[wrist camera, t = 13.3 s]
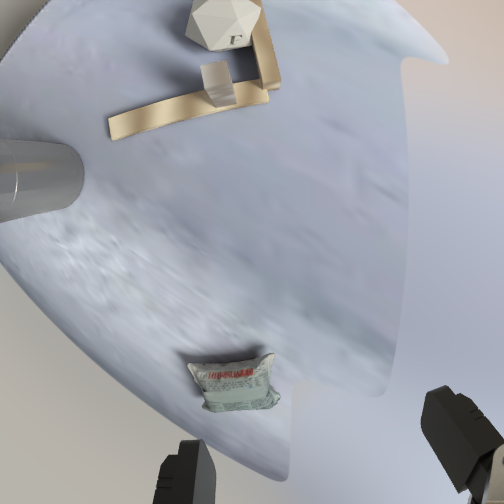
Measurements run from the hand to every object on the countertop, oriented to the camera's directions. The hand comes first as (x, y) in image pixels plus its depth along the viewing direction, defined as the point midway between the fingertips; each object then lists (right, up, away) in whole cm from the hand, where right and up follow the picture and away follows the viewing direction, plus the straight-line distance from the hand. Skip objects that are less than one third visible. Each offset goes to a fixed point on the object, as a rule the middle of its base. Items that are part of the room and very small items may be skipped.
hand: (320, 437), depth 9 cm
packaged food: (-5, -11, +35) cm, 37 cm away
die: (-6, +34, +24) cm, 42 cm away
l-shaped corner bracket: (-11, +31, +25) cm, 41 cm away
